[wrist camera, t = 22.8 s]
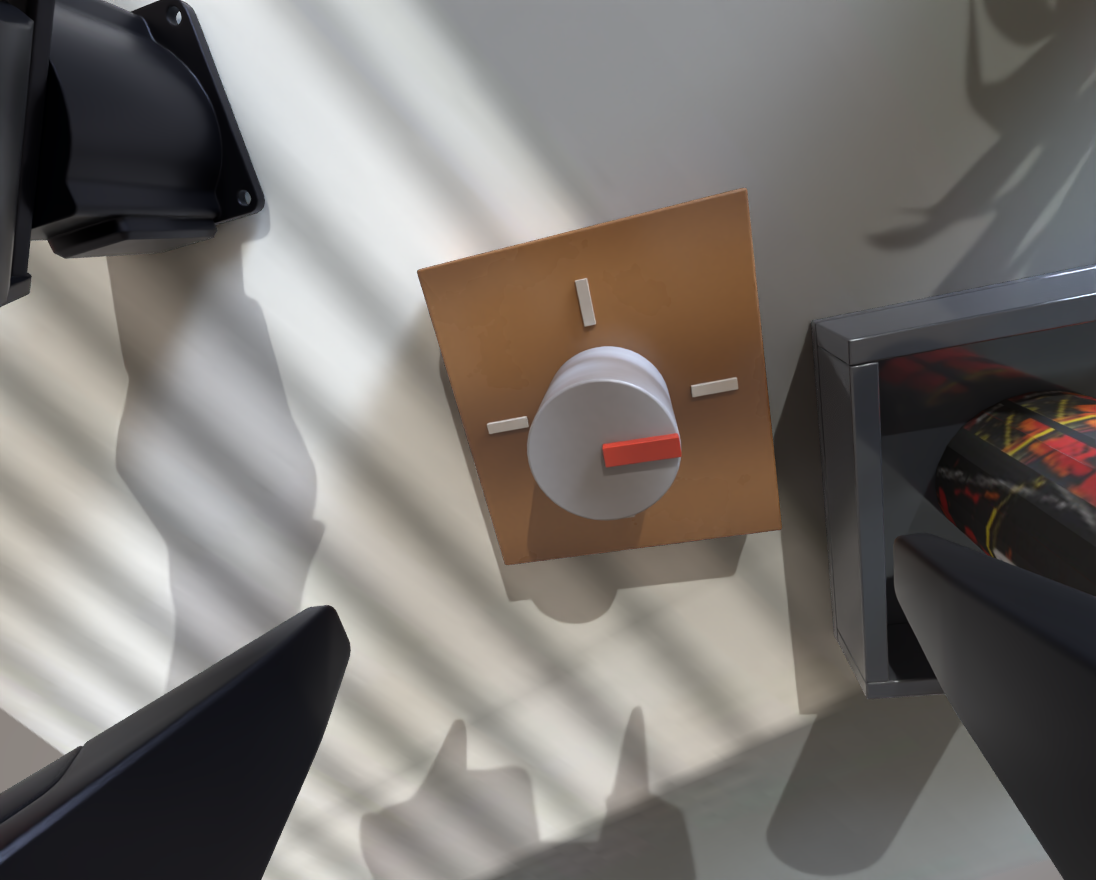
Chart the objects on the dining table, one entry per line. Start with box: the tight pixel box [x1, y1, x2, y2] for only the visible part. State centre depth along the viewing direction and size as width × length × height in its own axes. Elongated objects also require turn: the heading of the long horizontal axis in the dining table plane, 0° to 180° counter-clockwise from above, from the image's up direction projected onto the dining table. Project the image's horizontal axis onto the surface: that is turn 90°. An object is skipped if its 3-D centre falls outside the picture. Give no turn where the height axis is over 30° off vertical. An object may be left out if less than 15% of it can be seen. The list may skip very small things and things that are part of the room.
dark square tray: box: [811, 264, 1096, 699], centre depth 18 cm, size 14×14×4 cm
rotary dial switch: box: [417, 188, 782, 565], centre depth 19 cm, size 11×10×3 cm
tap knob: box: [527, 346, 682, 520], centre depth 16 cm, size 4×4×4 cm
